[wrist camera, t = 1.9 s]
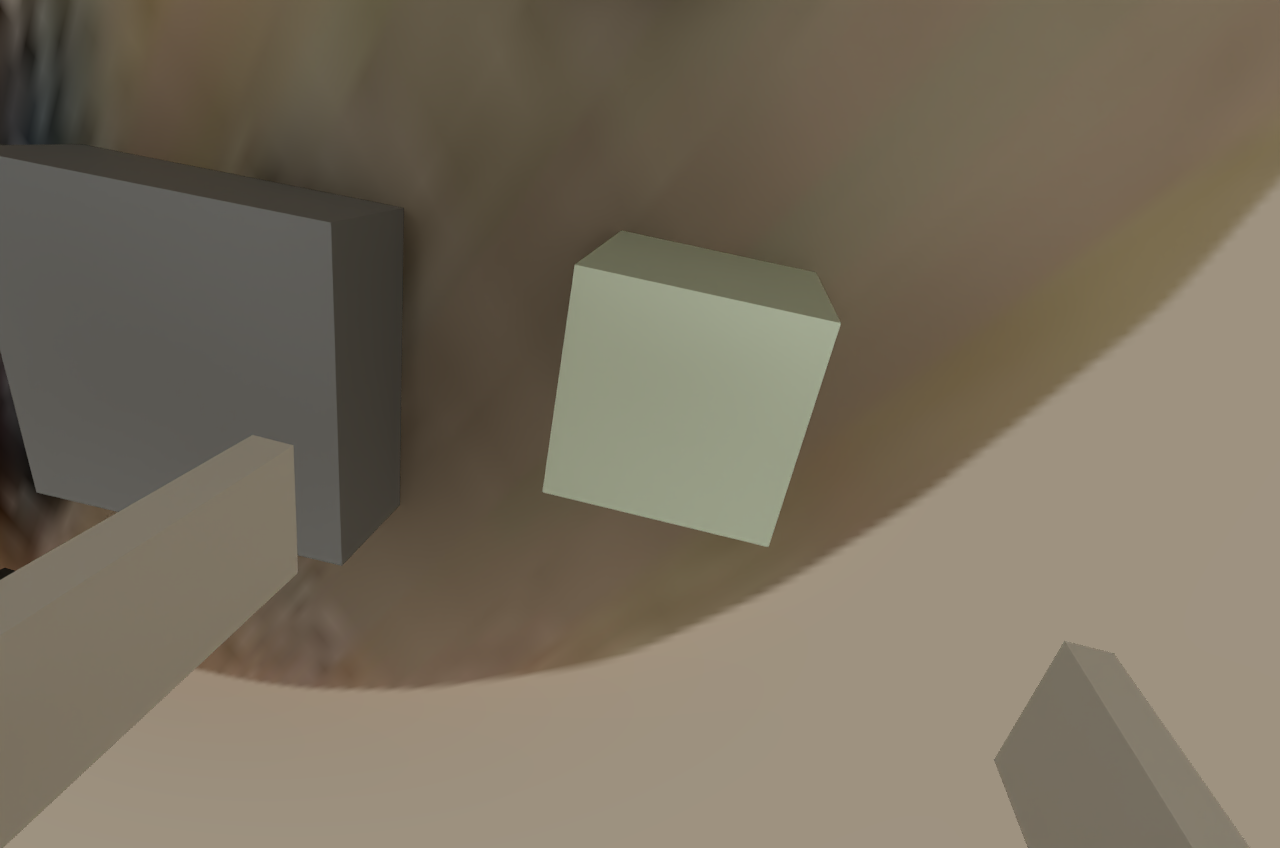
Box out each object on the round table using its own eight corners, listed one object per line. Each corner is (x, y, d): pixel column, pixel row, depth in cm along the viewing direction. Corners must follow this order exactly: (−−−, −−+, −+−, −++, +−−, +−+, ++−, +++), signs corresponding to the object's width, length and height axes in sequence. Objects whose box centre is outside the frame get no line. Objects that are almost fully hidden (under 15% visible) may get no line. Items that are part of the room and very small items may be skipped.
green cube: (592, 407, 26) (542, 492, 20) (621, 230, 24) (574, 264, 17) (763, 447, 26) (768, 547, 20) (815, 272, 23) (840, 323, 17)
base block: (141, 440, 31) (36, 492, 26) (90, 144, 26) (-53, 145, 21) (403, 501, 30) (341, 565, 26) (408, 207, 25) (330, 222, 20)
